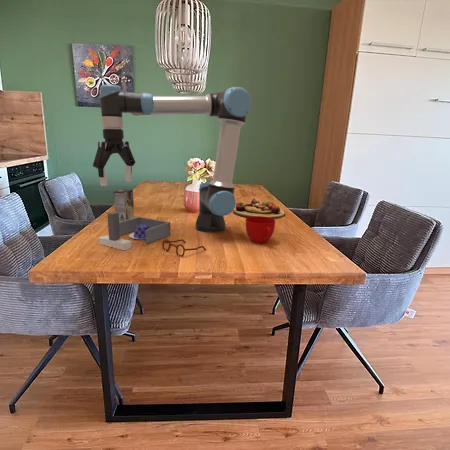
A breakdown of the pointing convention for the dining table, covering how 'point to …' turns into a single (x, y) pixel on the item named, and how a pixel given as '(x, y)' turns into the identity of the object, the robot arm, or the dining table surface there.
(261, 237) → the ceramic cup
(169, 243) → the glasses
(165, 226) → the bin
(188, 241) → the dining table surface
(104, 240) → the scraper
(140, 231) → the pudding
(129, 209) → the coffee box
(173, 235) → the dining table surface
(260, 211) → the wooden plate with food
